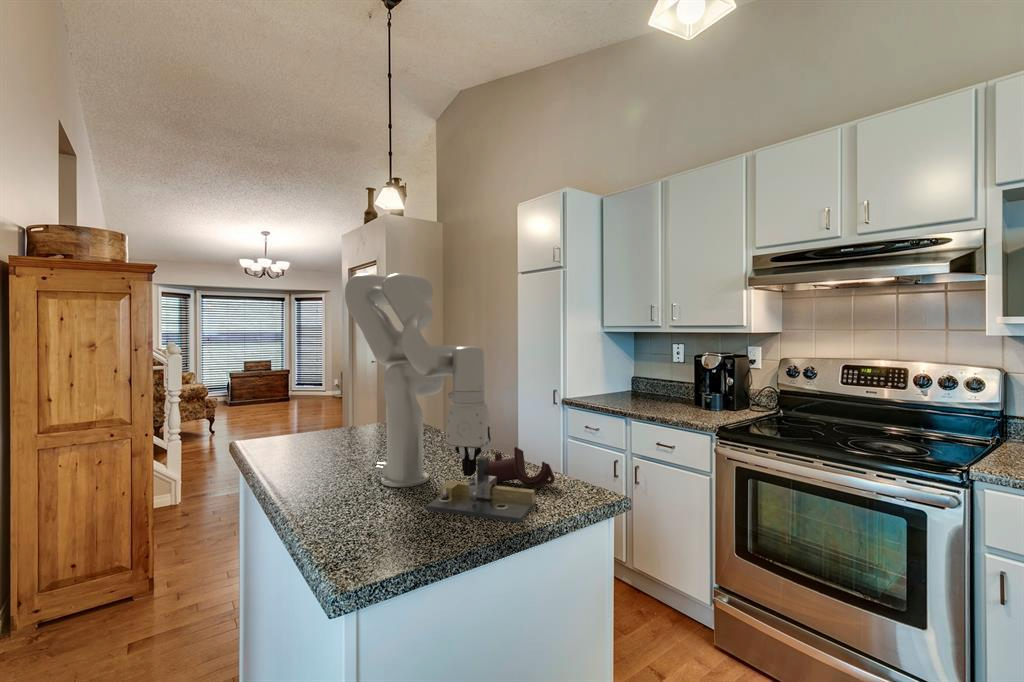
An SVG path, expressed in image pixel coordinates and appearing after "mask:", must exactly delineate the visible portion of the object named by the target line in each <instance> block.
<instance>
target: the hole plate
mask: <svg viewBox="0 0 1024 682" xmlns="http://www.w3.org/2000/svg"><path fill="white" fill-rule="evenodd" d="M536 504H537V499H536V498H535V501H534V503H533V504H530V503H522V502H514V501H506V500H498V499H490V498H489V499H488V498H480V497H477V501H476V502H473V497H472V496H466V495H457V496H456V497H454V498H453V499H449V498H447V499H443V498H440V496H438V497H437V498H435V499H434V500H432V501H431V502H429V503H428V504H426V507H425V508H426V511H431V512H439V513H446V514H452V515H460V516H466V517H475V518H483V519H487V520H488V519H489V520H495V521H503V522H508V523H509V522H510V523H519V524H520V523H521V522H523V520H524V519H525V518H526V516H527V515H528V514H529V513H530V512H531V510H532V509H533V508H534V507H535V506H536Z"/></svg>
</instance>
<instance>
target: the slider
mask: <svg viewBox="0 0 1024 682" xmlns="http://www.w3.org/2000/svg"><path fill="white" fill-rule="evenodd" d="M489 462H490V457H489V456H486V455H485V456H484V455H482V456H481V457H478V459H477V458H476V472H477V473H476V475H474V476H473V477H472V478H470V479H469V480H468V482H469V496H472V497H473V502H476V501H477V497H480V498H488V499H489V498H490V497H491V486H492V485H495V486H498V482H497V476H489Z"/></svg>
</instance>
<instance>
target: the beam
mask: <svg viewBox="0 0 1024 682" xmlns="http://www.w3.org/2000/svg"><path fill="white" fill-rule="evenodd" d="M457 495H466V496H469V481H468V482H467V481H459V480H458V481H457V480H450V479H448V480H447V481H445V483H444V484H443V485H441V486H440V487H439V497H440V498H443V499H447V498H449V499H453V498H454V497H456V496H457ZM490 499H498V500H506V501H514V502H522V503H530V504H533V503H534V501H535V499H536V490H535V489H529V488H528V489H527V488H520V487H511V486H503V485H497V486H495V485H492V486H491V497H490Z"/></svg>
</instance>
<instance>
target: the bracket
mask: <svg viewBox="0 0 1024 682" xmlns="http://www.w3.org/2000/svg"><path fill="white" fill-rule="evenodd" d="M513 451H514V457H512V458H505V459H502V457H503V456H502V453H501V452H495V453H494V460H493V461H489V476H497V483H502V482H510V481H516V480H518V481H519V482H521V483H522V484H523V485H524V486H525V487H528V488H532V487H540V486H541V487H542V486H549V485H552V484H554V483H555V481H556V478H555V475H554V472H553V471H552V467H551V465H550V464H549V463H547V462H545V461H541V469H540V471H539V472H538V473H537V474H536V475H534V476H529V475H528V474H527V471H526V465H525V455H524V454H525V453H524V451H523V450H522V449H521V448H519V447H517V446H515V447H514V449H513ZM549 479H550V480H549Z"/></svg>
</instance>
